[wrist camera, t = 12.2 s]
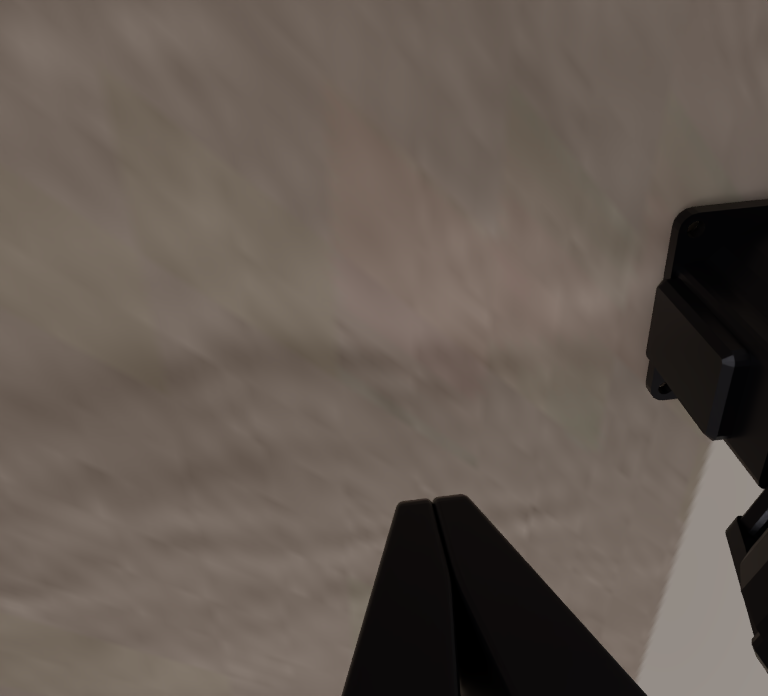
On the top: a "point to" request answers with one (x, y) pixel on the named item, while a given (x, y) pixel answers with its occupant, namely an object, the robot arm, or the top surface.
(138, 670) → the top surface
